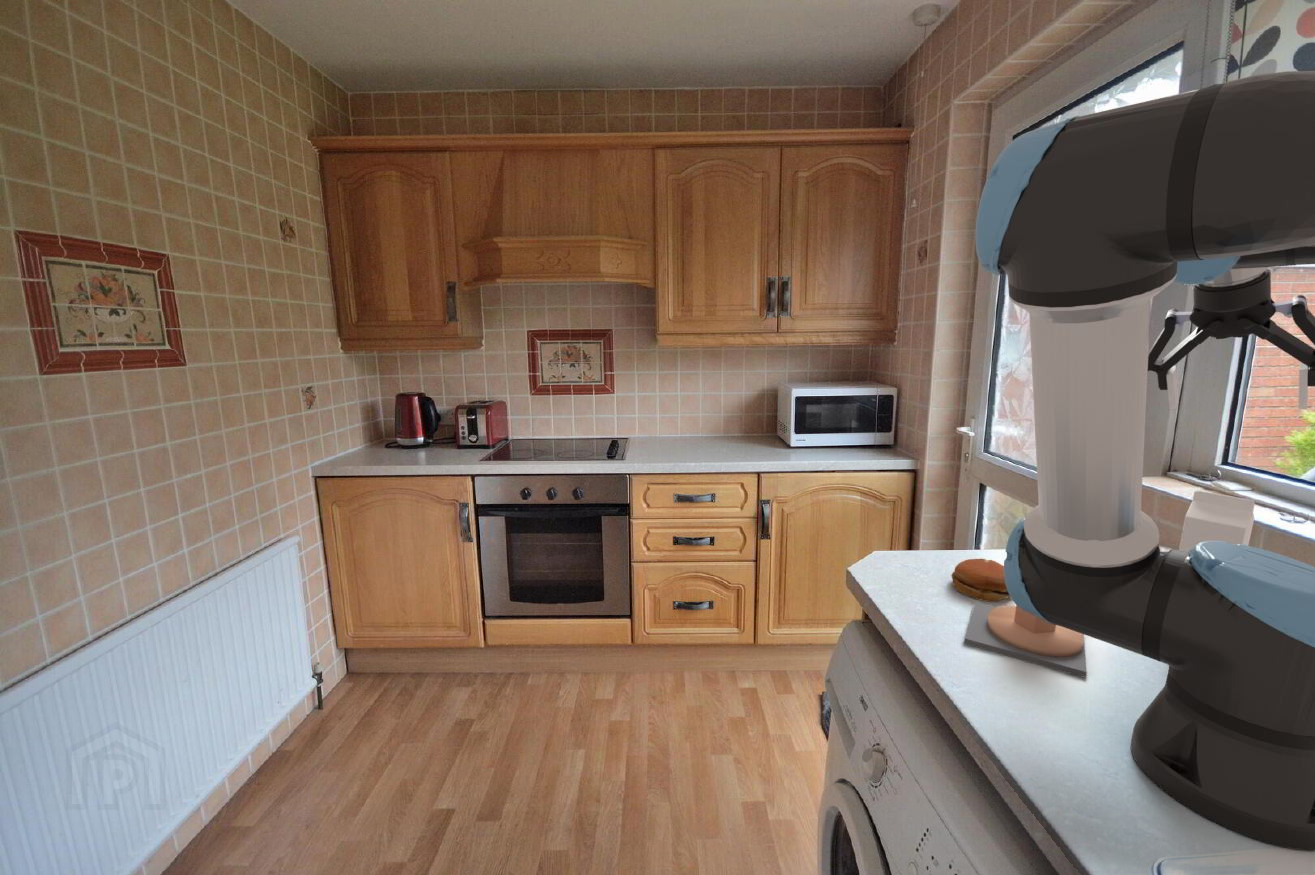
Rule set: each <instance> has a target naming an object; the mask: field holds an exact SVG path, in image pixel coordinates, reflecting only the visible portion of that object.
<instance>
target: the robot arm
mask: <svg viewBox="0 0 1315 875" xmlns="http://www.w3.org/2000/svg"><path fill="white" fill-rule="evenodd" d="M974 235H975V236H974V237H975V250H976V255H977V256H976V257H977V259H978V261H979V262H980V263H981V267H982V268H983V269H984V270H985V271H986V272H988V273H990V274H994V275H996V276H1004V275H1005V274H1006V276H1007V285H1008V299H1009V300H1010V302H1012V303H1013V304H1014V305H1015V306H1017V307H1018V308H1021V309H1022V310H1024V311H1026V312H1027V313H1028V314H1029V315H1028V316H1029V329H1030V330H1029V331H1030V332H1029V333H1030V334H1029V336H1030V352H1031V354H1030V355H1031V356H1030V357H1031V374H1032V392H1033V393H1032V394H1033V395H1032V396H1033V397H1032V398H1033V415H1034V418H1033V419H1034V433H1035V434H1034V435H1035V437H1034V438H1035V454H1036V455H1035V456H1036V457H1035V458H1036V477H1037V479H1036V480H1037V495H1038V496H1037V499H1038V500H1037V501H1038V505H1036V506H1035V507H1033V508H1032V509H1031V510H1030V511H1028V513H1027V514H1026V515H1025V517H1022V519H1020V520H1018V522H1017V523H1016V524H1015V525H1014V527H1013V529H1012V530H1011V531H1010V535H1009V537H1008V540H1007V543H1006V547H1005V553H1006V557H1005V559H1004V560H1003V566H1004V578H1005V583H1006V587H1007V590H1008V593H1009V595H1010V596H1009V597H1010V598H1011V600H1012V602H1013V603H1014V604H1015V606H1016V605H1017V606H1018V607H1019V608H1021V609H1022V610H1024V611H1026V612H1028V613H1030V614H1032V615H1035V616H1037V617H1039V618H1042V619H1043V620H1045V621H1046V622H1048V623H1050V624H1053V625H1058V626H1062V627H1065V628H1067V629H1070V630H1073V631H1076V632H1079V633H1081V634H1084V636H1087V637H1091V638H1093V639H1096V640H1098V641H1100V642H1101V641H1102V642H1105V643H1107V644H1110V645H1113V646H1115V647H1118V648H1121V649H1124V650H1127V651H1130V652H1132V653H1135V654H1138V655H1141V656H1144V657H1146V658H1149V659H1152V660H1155V661H1157V662H1161V663H1162V664H1165V665H1167V666H1168V669H1167V670H1168V671H1167V675H1166V681H1165V684H1164V686H1163V688H1161V690H1160V691H1159V693H1158V694H1157V695H1156V696H1155V698H1154V699H1153V700H1152V702H1150V704H1149V705H1148V706H1147V708H1145V710H1144V711H1143V713H1141V715H1140V716H1139V718H1137V720H1136V721H1135V723H1134V726H1133V731H1132V734H1131V739H1130V752H1131V754H1132V756H1133V759H1134V761H1135V762H1136V764H1137V765H1138V767H1139V769H1140V770H1141V771H1143V772H1142V773H1144V774H1145V775H1146V776H1147V777H1148V778H1149V779H1150V780H1151V781H1152V782H1153V783H1154V784H1155V785H1156V786H1158V787H1159V788H1160V789H1161V790H1163V791H1164V792H1165V793H1166V794H1168V795H1169V796H1171V797H1172V798H1173V799H1175V800H1176V801H1177V802H1179V803H1180V804H1182V805H1183V806H1185V807H1187V808H1188V809H1190V810H1192V811H1193V812H1195V813H1197V814H1199V815H1201V816H1203V817H1204V818H1206V819H1208V820H1209V821H1212V822H1214V823H1216V824H1218V825H1220V826H1222V827H1225V828H1226V829H1229V830H1230V831H1231V830H1232V831H1234V832H1235V833H1239V834H1242V835H1244V836H1247V837H1248V838H1252V839H1255V840H1257V841H1261V842H1264V843H1268V844H1273V845H1274V846H1275V845H1276V846H1280V847H1284V848H1288V849H1295V850H1303V851H1315V567H1314V566H1312V565H1310V564H1309V563H1305V562H1304V561H1303V562H1302V561H1300V560H1297V559H1295V558H1292V557H1289V556H1287V555H1282V554H1279V553H1276V552H1273V551H1270V550H1266V549H1262V548H1259V547H1255V546H1250V545H1248V546H1247V545H1242V544H1235V545H1233V544H1230V543H1226V542H1222V541H1205V542H1200V543H1198V544H1196V545H1195V546H1194V548H1192V549H1191V550H1190V552H1185V551H1181V550H1179V549H1176V548H1174V547H1169V546H1165V545H1161V544H1160V532H1159V528H1158V526H1157V524H1156V522H1155V521H1154V520H1153V519H1152V518H1151V517H1150V516H1149V515H1148V514H1146V513H1145V512H1144V511H1142V494H1143V478H1144V477H1143V476H1144V475H1143V474H1144V473H1143V472H1144V456H1145V455H1144V452H1145V435H1146V434H1145V433H1146V410H1147V409H1146V408H1147V388H1148V387H1147V386H1148V372H1150V371H1151V372H1154V373H1155V374H1157V382H1158V383H1157V384H1158V389H1159V390H1160V391H1167V397H1168V405H1169V406H1168V409H1169V411H1176V410H1177V407H1178V404H1179V400H1180V399H1179V389H1178V388H1179V387H1178V375H1177V366H1176V365H1177V364H1178V363H1179V362H1180V361H1182V359H1184V358H1185V357H1186V356H1187V355H1189V353H1190V352H1192V351H1193V350H1194V349H1196V348H1197V346H1199V345H1202V343H1204V342H1205V341H1206V340H1207V339H1208V338H1210V337H1211V338H1214V339H1215V340H1222V339H1223V340H1224V339H1229V338H1240V339H1241V338H1248V336H1250V335H1254V336H1256V337H1258V338H1260V339H1261V340H1265V341H1268V342H1269V343H1270V344H1272V345H1274V346H1275V347H1277V348H1278V349H1280V350H1281V351H1283V352H1285V353H1286V354H1288V355H1289V356H1291V357H1293V358H1294V359H1295V360H1297V361H1299V368H1298V369H1299V370H1298V410H1307V408H1308V400H1309V398H1308V396H1309V387H1315V348H1314V347H1312V346H1311V345H1309V344H1308V343H1306V342H1304V341H1303V340H1301V339H1300V338H1298V337H1297V336H1295V335H1294V334H1292V333H1290V332H1289V331H1287V330H1285V329H1284V328H1282V327H1281V326H1279V325H1277V323H1276V322H1275V321H1274V320H1272V317H1273V316H1274V315H1275V314H1276V313H1280V314H1282V315H1283V316H1284V317H1286V318H1289V319H1290V318H1292V320H1293V322H1294V324H1295V325H1296V326H1297V328H1299V330H1300V331H1301V332H1302V333H1303V334H1304V335H1305V336H1306V338H1307V339H1309V341H1310V342H1311V343H1312V344H1313V345H1314V346H1315V316H1314V315H1313V313H1312V312H1311V311H1310V310H1309V309H1308V303H1307V302H1308V301H1307V298H1306V296H1305V295H1303V294H1299V295H1295V296H1294V297H1293V298H1292V299H1291V300H1289V299H1288V300H1284V301H1278V302H1275V301H1274V300H1273V299H1272V283H1271V281H1272V280H1271V279H1272V276H1271V275H1272V272H1271V270H1270V268H1272V267H1274V268H1275V267H1289V266H1291V267H1293V266H1298V265H1299V266H1301V265H1315V70H1300V71H1299V70H1298V71H1297V70H1292V71H1281V72H1280V71H1279V72H1270V73H1269V72H1268V73H1262V74H1261V73H1260V74H1259V73H1258V74H1255V75H1250V76H1247V77H1242V78H1237V79H1232V80H1229V81H1226V82H1225V83H1220V84H1216V85H1212V86H1208V87H1203V88H1198V89H1196V90H1195V89H1194V90H1190V91H1186V92H1182V93H1177V94H1173V95H1168V96H1164V97H1159V98H1155V99H1152V100H1146V101H1141V102H1138V103H1137V102H1136V103H1134V104H1129V105H1124V106H1120V107H1116V108H1115V107H1114V108H1112V109H1107V110H1102V111H1098V112H1094V113H1089V114H1085V115H1080V116H1079V115H1075V116H1073V117H1071V118H1066V119H1064V120H1061V121H1059V122H1056V123H1051V124H1049V125H1046V126H1043V127H1040V128H1037V129H1034V130H1033V129H1032V130H1030V131H1027V132H1025V133H1023V134H1020V135H1019V136H1017V137H1016V138H1014V139H1013V140H1012V141H1010V143H1008V144H1007V146H1006V147H1005V148H1004V149H1003V150H1002V151H1001V152H1000V154H999V155H998V157H997V159H996V160H995V162H994V163H993V166H992V168H991V169H990V171H989V174H988V177H987V180H986V181H985V184H984V186H983V189H982V192H981V196H980V199H979V204H978V209H977V212H976V223H975V234H974ZM1173 282H1174V283H1177V284H1182V285H1187V286H1188V285H1189V286H1190V285H1192V298H1193V300H1192V301H1193V309H1192V311H1179V310H1178V309H1176V308H1171V309H1169V310H1168V311H1167V313H1166V316H1165V319H1164V325H1163V326H1164V327H1163V328H1162V330H1161V331H1160V333H1159V335H1158V336H1157V337H1156V340H1155V341H1154V343H1153V344H1152V346H1151V348H1149V346H1150V329H1151V328H1150V326H1151V325H1150V324H1151V303H1152V299H1153V298H1154V297H1155V296H1157V295H1158V294H1160V293H1161V292H1162V291H1163V290H1165V289H1166V288H1167V287H1169V285H1171V284H1172V283H1173ZM1188 321H1190V323H1192V324H1193V325H1194V326H1195V328H1194V329H1193V331H1192V332H1191V333H1190V334H1189V335H1188V336H1187V337H1185V338H1184V339H1183V340H1182V341H1181V342H1180V343H1178V344H1177V346H1175V347H1174V348H1173V349H1172V350H1170V351H1169V352H1168V354H1167V355H1165V356H1164V357H1163V358H1160V359H1159V357H1160V355H1161V354H1162V352H1163V351H1164V349H1165V348H1166V346H1167V345H1168V343H1169V341H1170V339H1172V337H1173V335H1174V333H1175V330H1176V329H1177V328H1181V327H1182V326H1184V324H1185V323H1186V322H1188ZM1158 359H1159V360H1158Z"/></svg>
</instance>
